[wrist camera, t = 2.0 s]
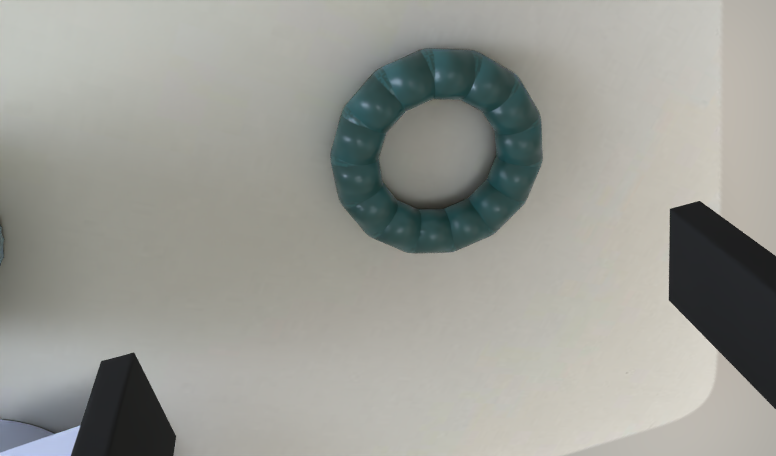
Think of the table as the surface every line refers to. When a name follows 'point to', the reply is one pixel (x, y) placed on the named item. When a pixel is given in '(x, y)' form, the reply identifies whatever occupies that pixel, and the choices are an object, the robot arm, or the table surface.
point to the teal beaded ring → (410, 89)
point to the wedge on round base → (34, 440)
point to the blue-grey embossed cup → (1, 245)
